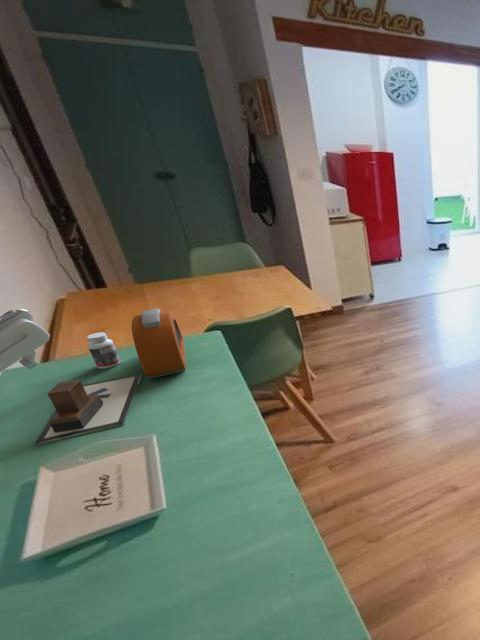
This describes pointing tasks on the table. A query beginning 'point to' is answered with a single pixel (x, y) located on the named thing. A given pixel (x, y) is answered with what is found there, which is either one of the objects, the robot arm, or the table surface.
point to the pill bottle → (103, 351)
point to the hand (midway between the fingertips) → (5, 382)
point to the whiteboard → (110, 415)
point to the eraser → (72, 406)
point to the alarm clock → (158, 343)
